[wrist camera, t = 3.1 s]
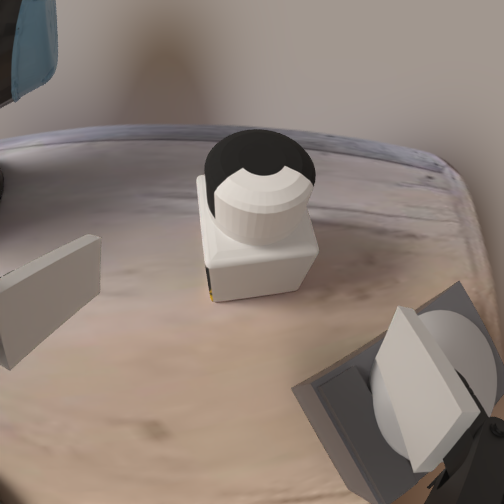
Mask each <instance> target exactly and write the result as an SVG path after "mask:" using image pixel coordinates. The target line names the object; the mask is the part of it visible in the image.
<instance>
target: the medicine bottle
mask: <svg viewBox="0 0 504 504" xmlns="http://www.w3.org/2000/svg"><path fill="white" fill-rule="evenodd" d="M315 176H316V175H315V168H314V165H313V162H312V160H311V158H310V157H309V155H308V154H307V153H306V151H305V150H304V149H303V148H302V147H301V146H300V145H299V144H298V143H297V142H295V141H294V140H292V139H291V138H289V137H287V136H285V135H282V134H280V133H277V132H273V131H268V130H257V129H254V130H245V131H240V132H237V133H234V134H232V135H229V136H228V137H226V138H224V139H223V140H221V141H220V142H219V143H217V144H216V145H215V146H214V147H213V148H212V150H211V151H210V153H209V154H208V156H207V159H206V162H205V175H200V176H198V177H197V180H196V184H197V195H198V205H199V215H200V224H201V234H202V243H203V251H204V260H205V267H206V274H207V280H208V286H209V293H210V298H211V300H212V301H213V302H221V301H228V300H236V299H243V298H250V297H257V296H264V295H271V294H278V293H284V292H291V291H296V290H298V289H299V287H300V285H301V283H302V282H303V280H304V278H305V276H306V275H307V273H308V271H309V269H310V268H311V266H312V264H313V262H314V260H315V259H316V257H317V255H318V253H319V246H318V243H317V240H316V236H315V233H314V229H313V226H312V223H311V219H310V216H309V213H308V210H307V204H308V201H309V198H310V195H311V192H312V190H313V187H314V183H315Z"/></svg>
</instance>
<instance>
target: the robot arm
mask: <svg viewBox="0 0 504 504" xmlns="http://www.w3.org/2000/svg"><path fill="white" fill-rule="evenodd" d="M57 61H58V34H57V15H56V1H55V0H0V108H2V107H4V106H5V105H7V104H9V103H11V102H13V101H14V102H17V101H18V100H19V99H20V98H21V97H22V96H23V95H25V94H27V93H29V92H31V91H32V90H35V89H36V88H38V87H40V86H42V85H44V84H46V83H47V82H48V81H49V80H50V79H51V78H52V76H53V75H54V73H55V70H56V67H57ZM2 191H3V174H2V171H1V169H0V199H1V195H2ZM101 238H102V237H98V236H94V235H90V234H87V235H84V236H82V237H80V238H78V239H76V240H74V241H72V242H69V243H67V244H65V245H63V246H61V247H59V248H57V249H55V250H53V251H51V252H49V253H47V254H45V255H43V256H41V257H39V258H37V259H35V260H33V261H31V262H29V263H27V264H25V265H23V266H22V267H20V268H18V269H16V270H13V271H11V272H9V273H7V274H5V275H4V276H3V277H0V365H2V366H3V367H5V368H6V369H8V370H11V369H12V368H14V367H15V366H16V365H17V364H18V363H19V362H20V361H21V360H22V359H23V358H24V357H26V356H27V355H28V354H29V353H30V352H31V351H32V350H33V349H35V348H36V347H37V346H38V345H39V344H40V343H41V342H42V341H44V340H45V339H46V338H47V337H48V336H49V335H50V334H52V333H53V332H54V331H55V330H56V329H57V328H59V327H60V326H61V325H62V324H63V323H64V322H66V321H67V320H68V319H69V318H70V317H71V316H73V315H74V314H75V313H76V312H77V311H79V310H80V309H81V308H82V307H83V306H85V305H86V304H87V303H88V302H90V301H91V300H92V299H93V298H94V297H96V296H97V295H98V294H99V293H100V262H101ZM376 361H377V364H378V366H379V369H380V372H381V374H382V377H383V380H384V383H385V386H386V388H387V391H388V394H389V397H390V400H391V403H392V406H393V409H394V412H395V415H396V418H397V421H398V424H399V427H400V430H401V433H402V436H403V439H404V443H405V446H406V449H407V452H408V456H409V459H410V462H411V466H412V469H413V473H418V472H430V471H433V470H434V469H435V468H436V467H437V466H438V465H439V463H440V462H441V461H442V460H443V461H444V464H445V467H446V468H445V469H444V470H443V471H442V472H441V473H440V474H439V476H437V477H436V478H435V480H434V481H433V482H432V483H431V484H430V485H429V486H428V487H427V488H429V489H430V488H431V487H432V486H433V485H434V487H433V488H432V490H431V492H430V494H429V496H428V498H427V500H426V501H425V503H424V504H504V421H503V420H502V419H500V418H497V417H488V415H487V413H486V412H485V410H484V408H483V407H482V405H481V403H480V402H479V400H478V398H477V397H476V395H474V392H473V390H472V389H471V388H469V384H468V383H467V381H466V379H465V378H464V377H463V376H462V375H461V374H460V373H459V372H458V371H457V370H456V369H454V368H453V366H452V365H451V363H450V362H449V360H448V359H447V357H446V356H445V354H444V353H443V351H442V350H441V348H440V347H439V345H438V344H437V342H436V341H435V339H434V338H433V337H432V335H431V334H430V332H429V331H428V329H427V328H426V327H425V325H424V324H423V322H422V321H421V319H420V318H419V317H418V315H417V314H416V313H415V311H414V310H413V309H412V308H407V307H402V306H398V307H397V309H396V312H395V314H394V317H393V319H392V322H391V324H390V326H389V329H388V331H387V333H386V336H385V338H384V340H383V342H382V345H381V347H380V349H379V351H378V353H377V356H376Z"/></svg>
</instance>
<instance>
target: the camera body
mask: <svg viewBox="0 0 504 504" xmlns="http://www.w3.org/2000/svg"><path fill="white" fill-rule="evenodd" d="M415 313H416V314H417V315H418V317H419V318H420V319H421V321H422V322H423V324H424V325H425V327H426V328H427V329H428V331H429V332H430V334H431V335H432V337H433V338H434V339H435V341H436V342H437V344H438V345H439V347H440V348H441V350H442V351H443V353H444V354H445V356H446V357H447V359H448V360H449V362H450V363H451V365H452V366H453V368H454V369H456V370H457V371H458V372H459V373H460V374H461V375H462V376H463V377H464V378H465V379H466V381H467V383H468V384H469V388H471V389H472V390H473V392H474V395H476V397H477V398H478V400H479V402H480V403H481V405H482V407H483V408H484V410H485V412H486V413H487V415H488V417H490V416H491V413H492V410H493V407H494V405H495V404H496V403H497V402H498V401H499V399H500V398H501V397H502V396H503V394H504V365H503V362H502V360H501V358H500V356H499V354H498V352H497V349H496V347H495V345H494V343H493V341H492V339H491V337H490V335H489V333H488V331H487V329H486V327H485V325H484V323H483V322H482V320H481V318H480V316H479V314H478V312H477V310H476V309H475V307H474V305H473V303H472V301H471V300H470V298H469V296H468V294H467V293H466V291H465V289H464V288H463V286H462V284H461V283H460V281H458V282H456V283H455V284H454V285H452V286H451V287H449V288H448V289H446V290H445V291H443V292H442V293H440V294H439V295H437V296H436V297H434V298H433V299H431V300H429V301H428V302H426V303H425V304H423V305H422V306H420V307H419V308H417V309H416V310H415ZM387 331H388V330H386V331H385V332H383V333H382V334H381V335H379V336H378V337H376V338H374V339H373V340H371V341H370V342H368V343H367V344H365V345H364V346H362V347H361V348H359V349H357V350H356V351H354V352H353V353H351V354H349V355H348V356H346V357H345V358H343V359H341V360H340V361H338V362H336V363H335V364H333V365H331V366H330V367H328V368H326V369H324V370H323V371H321V372H319V373H318V374H316V375H314V376H312V377H310V378H309V379H307V380H305V381H303V382H301V383H300V384H298V385H296V386H294V387H292V388H291V389H292V391H293V393H294V395H295V397H296V398H297V400H298V402H299V404H300V406H301V407H302V409H303V411H304V413H305V415H306V416H307V418H308V420H309V422H310V423H311V425H312V427H313V429H314V431H315V432H316V434H317V436H318V438H319V439H320V441H321V443H322V445H323V446H324V448H325V450H326V452H327V453H328V455H329V457H330V459H331V460H332V462H333V464H334V466H335V467H336V469H337V471H338V472H339V474H340V476H341V478H342V479H343V481H344V483H345V484H346V486H347V488H348V490H350V491H352V492H353V493H355V494H357V495H358V496H360V497H362V498H363V499H365V500H367V501H368V502H370V503H372V504H391V503H392V502H393V501H395V500H396V499H398V498H399V497H400V496H402V495H403V494H404V493H405V492H407V491H408V490H409V489H411V488H412V487H413V486H414V485H416V484H417V483H418V481H419V480H420V479H421V478H422V477H424V476H425V475H426V474H427V473H428V472H418V473H413V469H412V466H411V462H410V459H409V456H408V452H407V449H406V446H405V443H404V439H403V436H402V433H401V430H400V427H399V424H398V421H397V418H396V415H395V412H394V409H393V406H392V403H391V400H390V397H389V394H388V391H387V388H386V386H385V383H384V380H383V377H382V374H381V372H380V369H379V366H378V364H377V361H376V356H377V353H378V351H379V349H380V347H381V345H382V342H383V340H384V338H385V336H386V333H387ZM441 462H444V461H443V460H442V461H441Z"/></svg>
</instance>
